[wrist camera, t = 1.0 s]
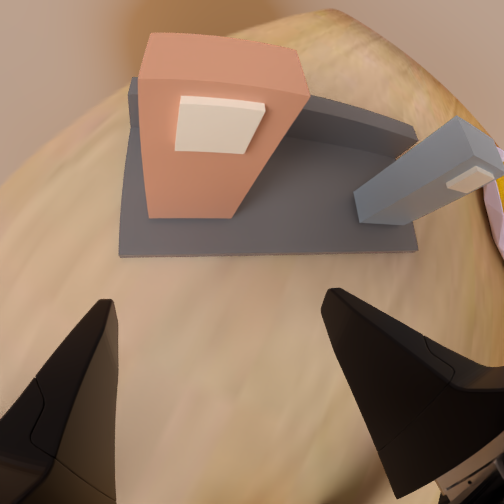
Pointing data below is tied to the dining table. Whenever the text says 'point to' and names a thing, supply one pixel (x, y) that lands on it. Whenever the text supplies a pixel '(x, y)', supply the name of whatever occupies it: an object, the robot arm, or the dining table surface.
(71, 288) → the dining table surface
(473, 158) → the slate key
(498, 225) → the fruit bowl
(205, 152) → the terracotta key
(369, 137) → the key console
